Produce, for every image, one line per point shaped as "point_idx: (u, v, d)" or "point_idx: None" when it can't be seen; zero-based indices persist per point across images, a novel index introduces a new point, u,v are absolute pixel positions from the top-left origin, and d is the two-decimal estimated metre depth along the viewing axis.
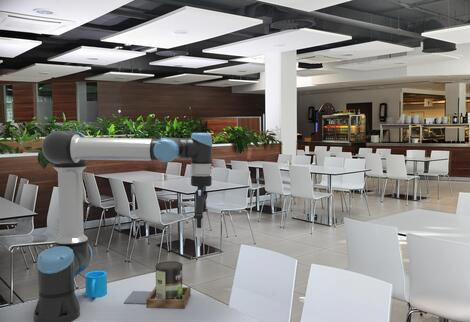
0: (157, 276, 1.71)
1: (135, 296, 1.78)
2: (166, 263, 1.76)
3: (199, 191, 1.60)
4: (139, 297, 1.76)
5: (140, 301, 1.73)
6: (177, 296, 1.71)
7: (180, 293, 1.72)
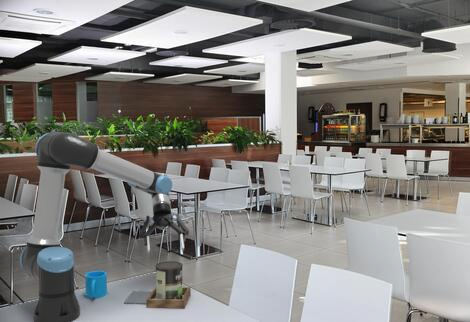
0: (157, 276, 1.71)
1: (135, 296, 1.78)
2: (166, 263, 1.76)
3: None
4: (139, 297, 1.76)
5: (140, 301, 1.73)
6: (177, 296, 1.71)
7: (180, 293, 1.72)
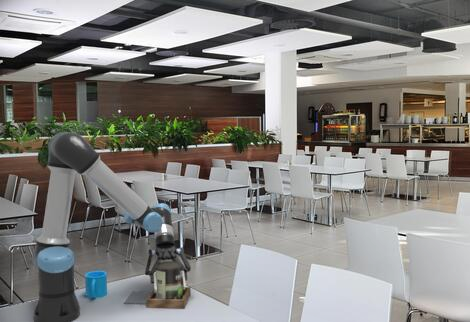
0: (157, 276, 1.71)
1: (135, 296, 1.78)
2: (166, 263, 1.76)
3: None
4: (139, 297, 1.76)
5: (140, 301, 1.73)
6: (177, 296, 1.71)
7: (180, 293, 1.72)
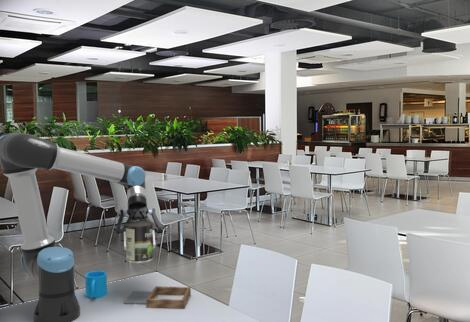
0: (127, 234, 1.72)
1: (135, 296, 1.78)
2: (137, 222, 1.77)
3: None
4: (139, 297, 1.76)
5: (140, 301, 1.73)
6: (146, 254, 1.72)
7: (150, 251, 1.74)
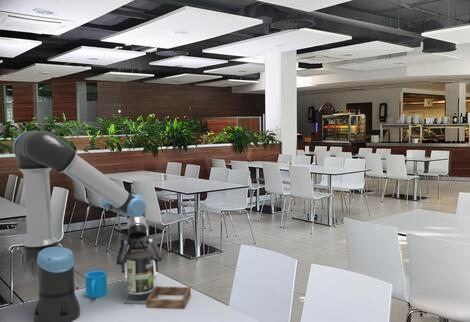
0: (128, 265, 1.73)
1: (135, 296, 1.78)
2: (137, 253, 1.79)
3: None
4: (139, 297, 1.76)
5: (140, 301, 1.73)
6: (147, 285, 1.73)
7: (150, 282, 1.75)
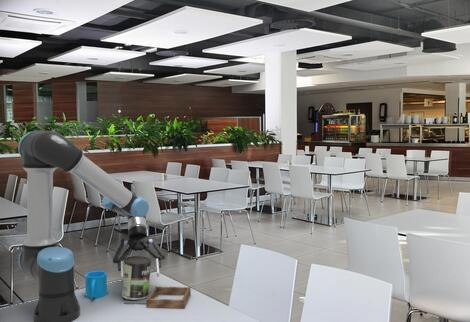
0: (124, 269, 1.74)
1: None
2: (136, 258, 1.79)
3: None
4: None
5: (140, 301, 1.73)
6: (141, 291, 1.74)
7: (145, 288, 1.75)
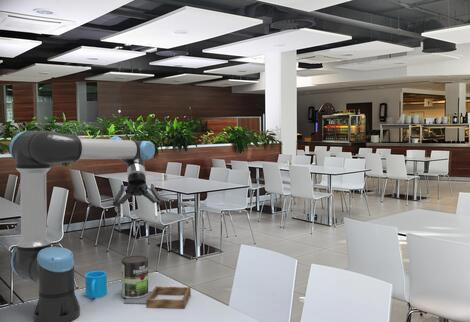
0: None
1: None
2: (136, 257, 1.82)
3: None
4: None
5: (140, 301, 1.73)
6: (135, 290, 1.75)
7: (139, 288, 1.76)
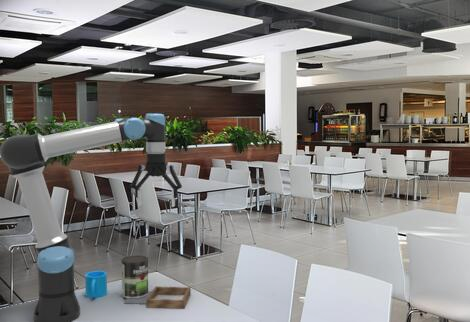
0: None
1: None
2: (136, 257, 1.82)
3: (173, 166, 1.81)
4: None
5: (140, 301, 1.73)
6: (135, 290, 1.75)
7: (139, 288, 1.76)
